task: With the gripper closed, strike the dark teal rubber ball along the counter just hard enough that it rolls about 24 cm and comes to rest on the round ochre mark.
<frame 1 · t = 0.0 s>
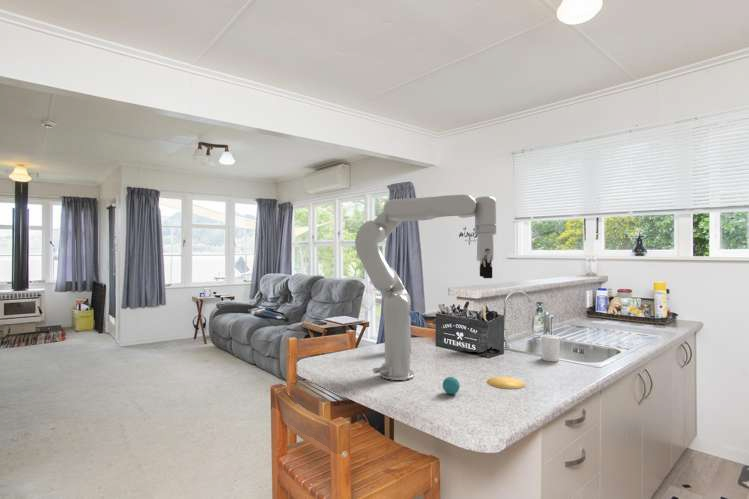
hand: (485, 277, 152), 37 cm above the worktop, tool pointing down, fingers open, 9 cm apart
aerosol can: (402, 353, 192), on the worktop
white cup: (550, 359, 178), on the worktop
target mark: (505, 383, 147), on the worktop
ball: (451, 385, 136), on the worktop
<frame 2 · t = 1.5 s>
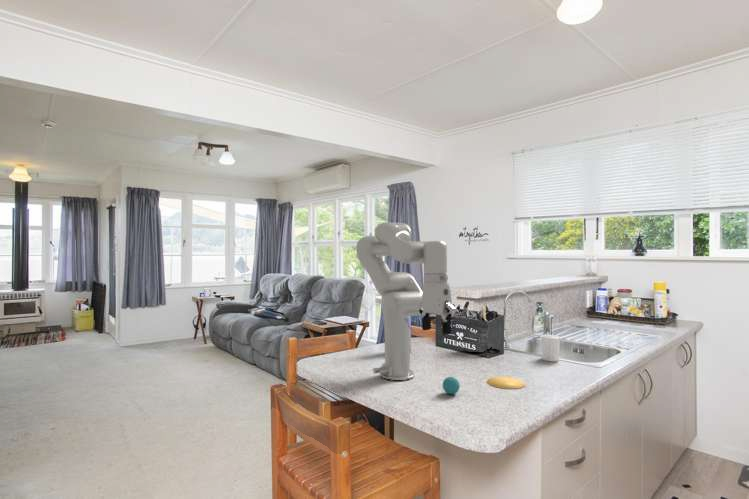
hand: (436, 331, 134), 21 cm above the worktop, tool pointing down, fingers open, 9 cm apart
nothing on the worktop moved.
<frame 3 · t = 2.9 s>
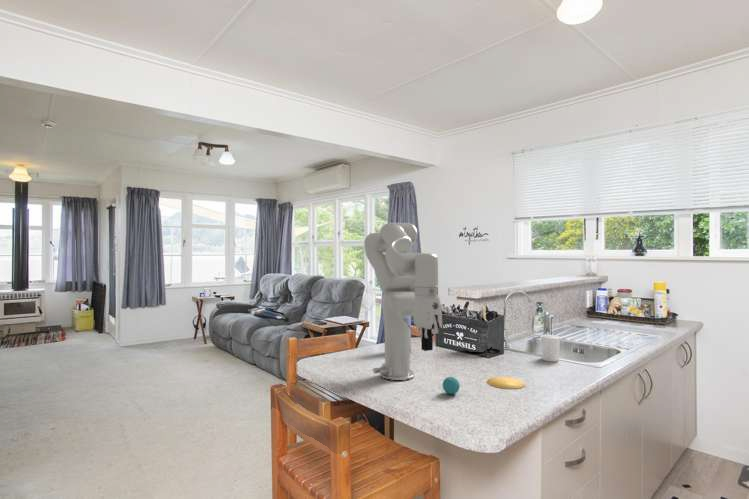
hand: (427, 349, 132), 16 cm above the worktop, tool pointing down, fingers closed
nothing on the worktop moved.
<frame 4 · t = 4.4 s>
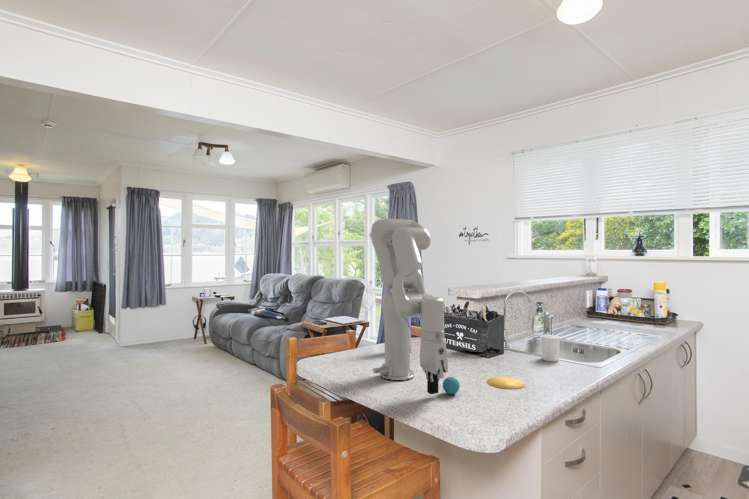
hand: (432, 392, 133), 1 cm above the worktop, tool pointing down, fingers closed
nothing on the worktop moved.
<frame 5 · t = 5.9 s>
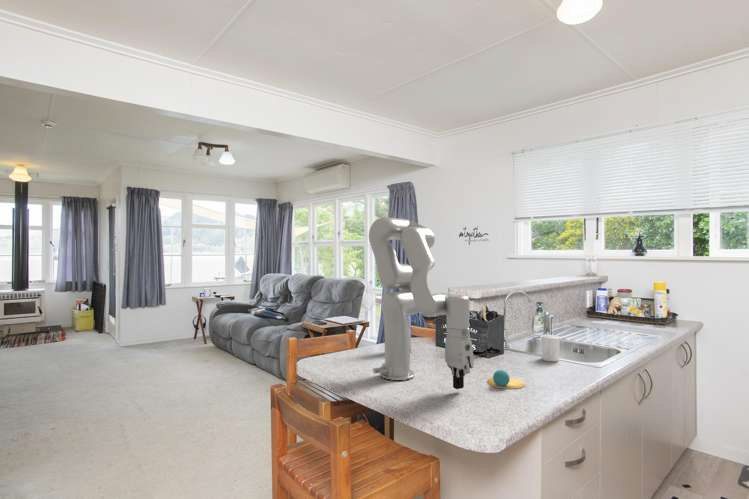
hand: (458, 387, 138), 2 cm above the worktop, tool pointing down, fingers closed
ball: (501, 378, 144), on the worktop
everything else where it was.
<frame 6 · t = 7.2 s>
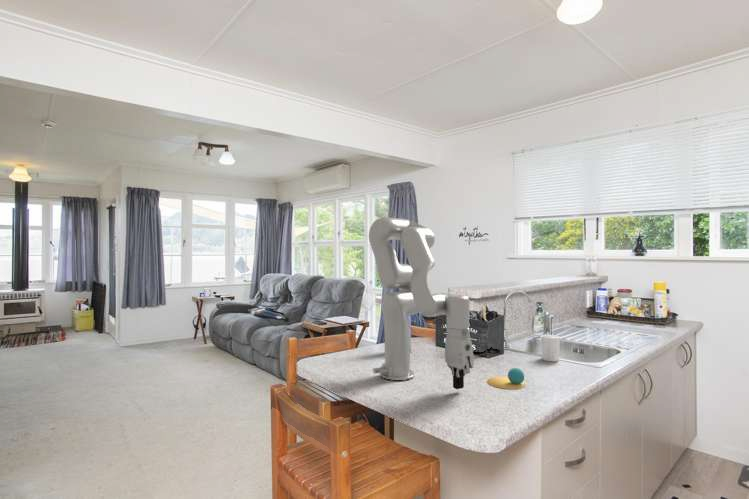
hand: (458, 387, 138), 2 cm above the worktop, tool pointing down, fingers closed
ball: (516, 376, 146), on the worktop
everything else where it was.
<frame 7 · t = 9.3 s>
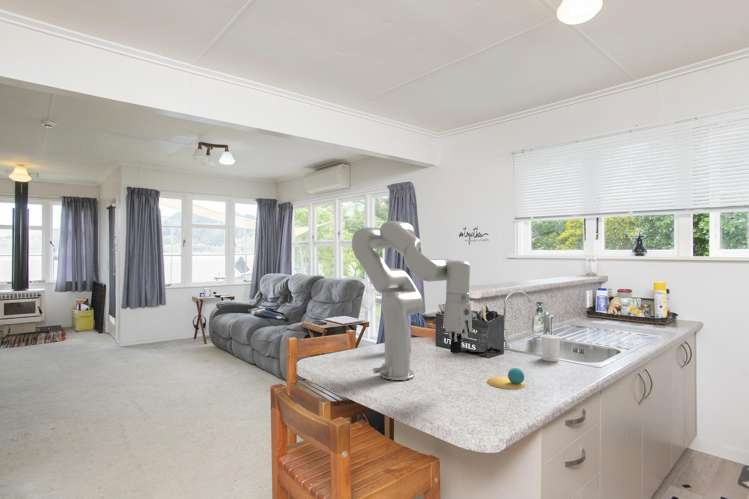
hand: (455, 352, 138), 13 cm above the worktop, tool pointing down, fingers closed
nothing on the worktop moved.
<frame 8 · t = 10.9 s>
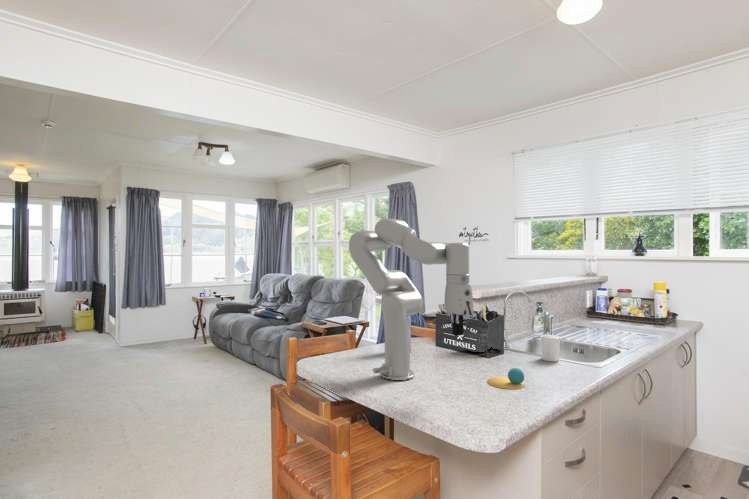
hand: (458, 334, 138), 19 cm above the worktop, tool pointing down, fingers closed
nothing on the worktop moved.
at the end: ball 3.4 cm from the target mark (horizontally); ball at rest at the end (0.0 cm/s); ball moved 26.5 cm from its start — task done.
